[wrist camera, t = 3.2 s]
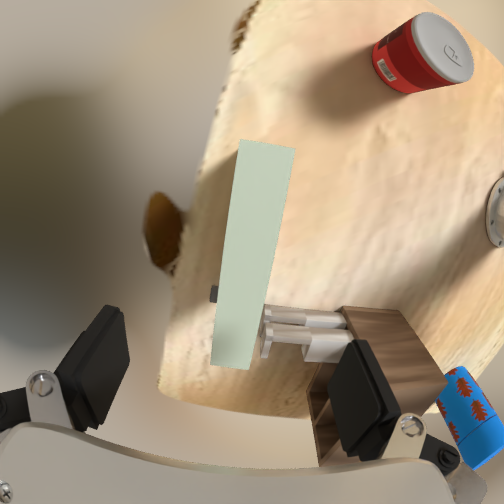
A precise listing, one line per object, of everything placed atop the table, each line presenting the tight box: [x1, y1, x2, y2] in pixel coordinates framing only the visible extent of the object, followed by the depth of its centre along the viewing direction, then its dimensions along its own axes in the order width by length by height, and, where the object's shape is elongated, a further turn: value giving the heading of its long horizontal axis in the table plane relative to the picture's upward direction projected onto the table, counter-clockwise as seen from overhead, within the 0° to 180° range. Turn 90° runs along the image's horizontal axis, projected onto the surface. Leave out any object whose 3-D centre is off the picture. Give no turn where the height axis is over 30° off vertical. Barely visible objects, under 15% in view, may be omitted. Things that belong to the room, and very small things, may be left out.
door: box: [210, 139, 295, 370], centre depth 24 cm, size 16×4×16 cm, turn 171°
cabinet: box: [260, 304, 448, 467], centre depth 32 cm, size 19×21×16 cm
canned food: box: [372, 12, 474, 93], centre depth 19 cm, size 8×8×11 cm
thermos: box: [435, 366, 504, 470], centre depth 34 cm, size 11×11×25 cm
